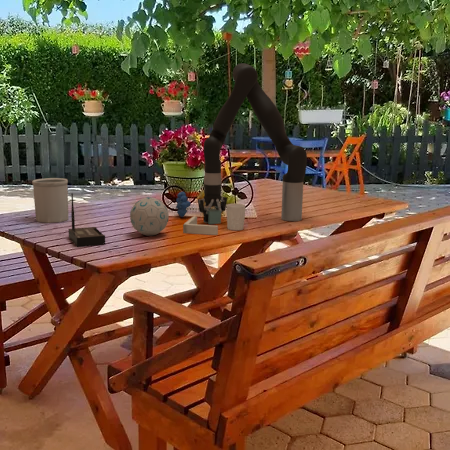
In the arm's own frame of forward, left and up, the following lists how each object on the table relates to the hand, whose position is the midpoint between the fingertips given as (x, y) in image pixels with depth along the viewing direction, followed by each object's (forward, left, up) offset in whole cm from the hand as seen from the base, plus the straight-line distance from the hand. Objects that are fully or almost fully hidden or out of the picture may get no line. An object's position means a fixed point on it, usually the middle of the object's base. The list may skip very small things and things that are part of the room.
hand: (212, 221), depth 270 cm
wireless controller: (+43, -40, -1) cm, 59 cm away
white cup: (+9, +12, -1) cm, 15 cm away
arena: (+14, 0, -1) cm, 14 cm away
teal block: (0, 0, -1) cm, 1 cm away
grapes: (-8, -15, -1) cm, 17 cm away
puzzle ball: (+29, -19, -1) cm, 35 cm away
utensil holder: (+13, -69, -1) cm, 70 cm away
